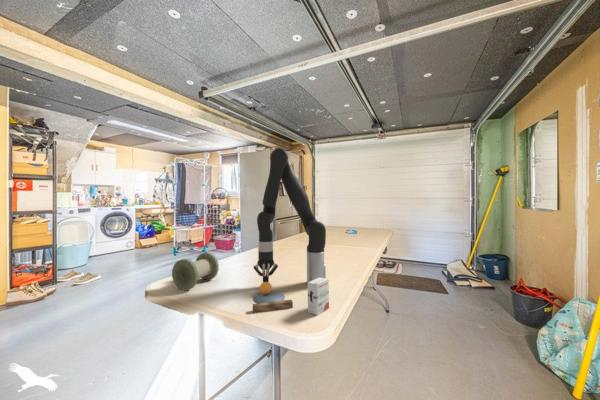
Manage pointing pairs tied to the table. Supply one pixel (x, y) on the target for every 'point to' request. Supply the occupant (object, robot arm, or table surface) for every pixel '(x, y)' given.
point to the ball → (265, 288)
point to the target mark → (269, 297)
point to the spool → (194, 270)
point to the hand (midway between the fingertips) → (265, 283)
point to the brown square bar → (272, 306)
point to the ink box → (318, 295)
